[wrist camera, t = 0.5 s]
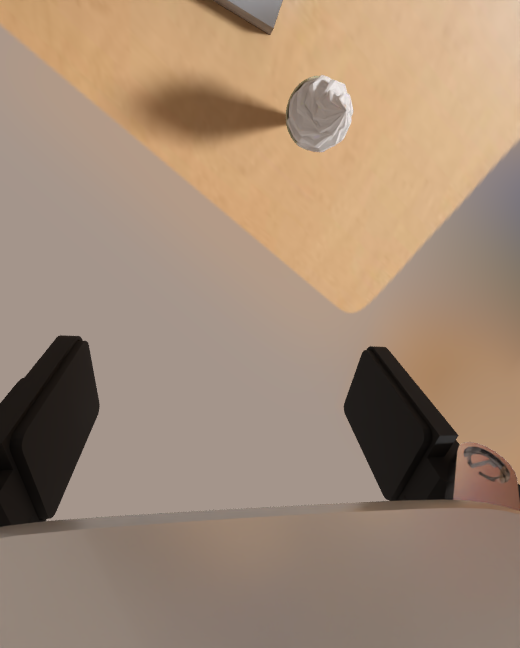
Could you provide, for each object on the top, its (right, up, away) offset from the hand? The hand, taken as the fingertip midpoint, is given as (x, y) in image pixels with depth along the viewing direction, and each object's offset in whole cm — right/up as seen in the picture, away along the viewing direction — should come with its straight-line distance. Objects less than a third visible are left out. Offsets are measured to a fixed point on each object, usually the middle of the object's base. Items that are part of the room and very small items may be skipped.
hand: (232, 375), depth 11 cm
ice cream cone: (+5, +23, +21) cm, 32 cm away
